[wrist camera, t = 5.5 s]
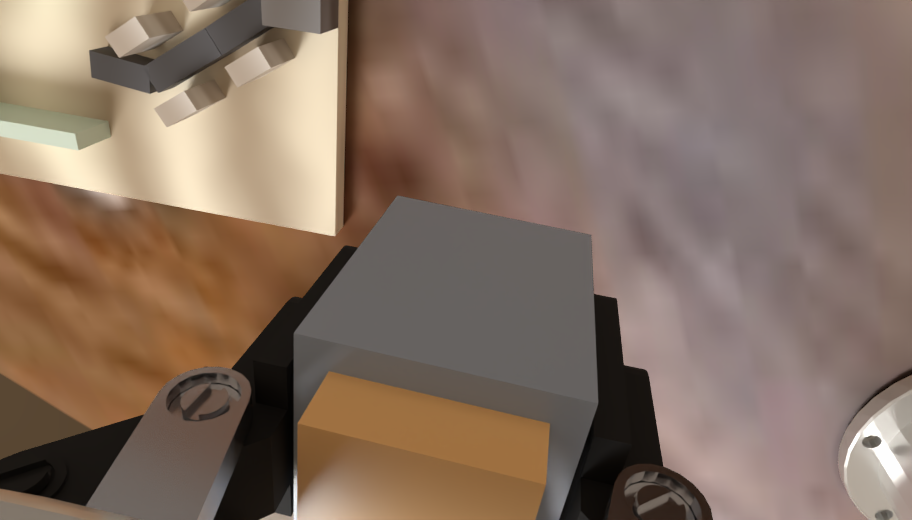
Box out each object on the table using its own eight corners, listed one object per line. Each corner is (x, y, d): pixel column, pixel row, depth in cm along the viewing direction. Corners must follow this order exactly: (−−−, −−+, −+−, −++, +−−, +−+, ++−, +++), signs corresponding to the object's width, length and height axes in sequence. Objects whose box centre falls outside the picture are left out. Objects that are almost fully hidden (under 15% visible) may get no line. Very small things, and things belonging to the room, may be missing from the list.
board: (350, -84, 23) (316, -88, 20) (343, 226, 30) (316, 258, 27) (-92, -143, 25) (-185, -156, 22) (-4, 161, 32) (-66, 184, 29)
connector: (591, 234, 12) (600, 465, 6) (548, 388, 14) (529, 660, 8) (397, 195, 12) (256, 381, 7) (383, 349, 14) (265, 586, 9)
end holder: (80, -34, 25) (40, -33, 23) (111, 136, 29) (78, 150, 27) (-70, -57, 26) (-121, -57, 24) (-21, 113, 29) (-61, 125, 28)
